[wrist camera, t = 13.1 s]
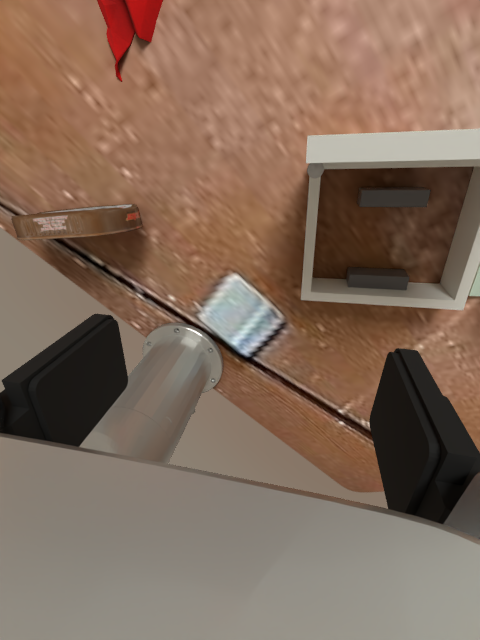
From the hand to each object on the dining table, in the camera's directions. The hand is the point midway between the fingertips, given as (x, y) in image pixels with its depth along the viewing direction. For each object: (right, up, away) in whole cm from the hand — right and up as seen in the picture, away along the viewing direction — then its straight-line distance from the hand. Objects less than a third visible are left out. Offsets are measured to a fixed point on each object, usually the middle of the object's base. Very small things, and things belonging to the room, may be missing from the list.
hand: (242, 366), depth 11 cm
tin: (-18, +15, +29) cm, 37 cm away
